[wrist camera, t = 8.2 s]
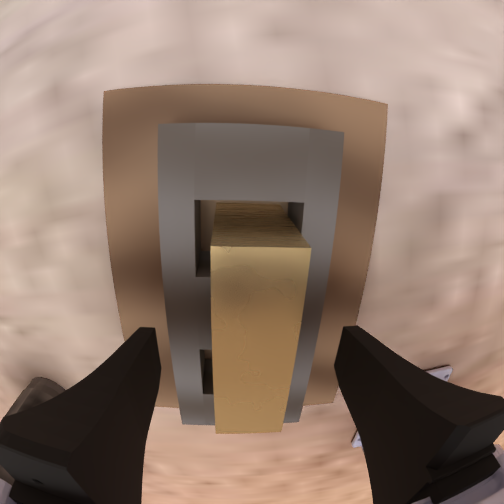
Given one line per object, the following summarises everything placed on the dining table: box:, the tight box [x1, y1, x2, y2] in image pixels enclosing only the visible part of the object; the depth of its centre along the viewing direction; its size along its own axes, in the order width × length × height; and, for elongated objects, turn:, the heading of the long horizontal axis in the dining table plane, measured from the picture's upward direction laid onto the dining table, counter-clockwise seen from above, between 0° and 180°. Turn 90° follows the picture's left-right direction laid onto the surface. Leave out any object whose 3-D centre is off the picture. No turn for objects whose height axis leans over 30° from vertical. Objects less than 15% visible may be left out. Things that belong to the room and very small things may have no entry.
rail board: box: [102, 84, 388, 425], centre depth 15 cm, size 20×14×4 cm
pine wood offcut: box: [211, 203, 311, 434], centre depth 14 cm, size 9×3×6 cm, turn 177°
